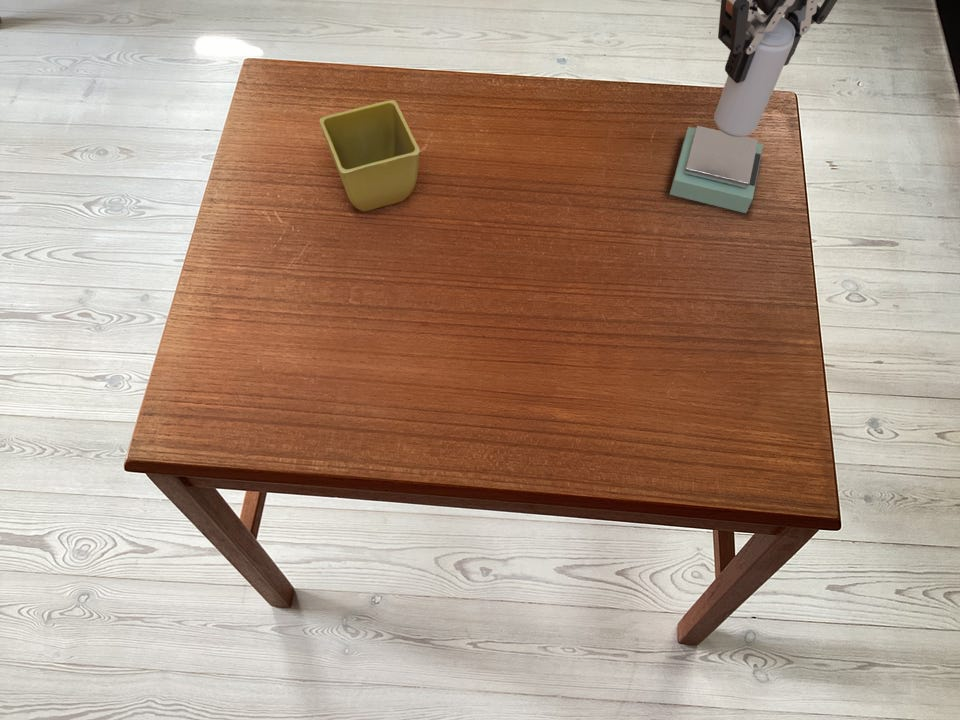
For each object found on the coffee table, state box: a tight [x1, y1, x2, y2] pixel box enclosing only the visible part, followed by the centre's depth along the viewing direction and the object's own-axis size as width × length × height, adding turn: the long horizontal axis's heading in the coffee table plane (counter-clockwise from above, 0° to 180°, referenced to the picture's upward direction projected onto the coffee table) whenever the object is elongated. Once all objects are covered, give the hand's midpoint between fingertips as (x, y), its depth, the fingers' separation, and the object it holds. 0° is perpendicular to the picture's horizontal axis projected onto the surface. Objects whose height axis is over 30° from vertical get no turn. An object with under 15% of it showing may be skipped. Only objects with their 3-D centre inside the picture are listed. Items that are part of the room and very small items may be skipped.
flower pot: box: [319, 99, 421, 213], centre depth 86 cm, size 9×9×9 cm
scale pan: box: [685, 125, 759, 188], centre depth 89 cm, size 7×7×1 cm
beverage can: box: [713, 13, 795, 137], centre depth 79 cm, size 5×5×12 cm
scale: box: [669, 126, 764, 214], centre depth 90 cm, size 9×9×3 cm
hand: (756, 68), depth 78 cm, fingers closed on beverage can, 5 cm apart
